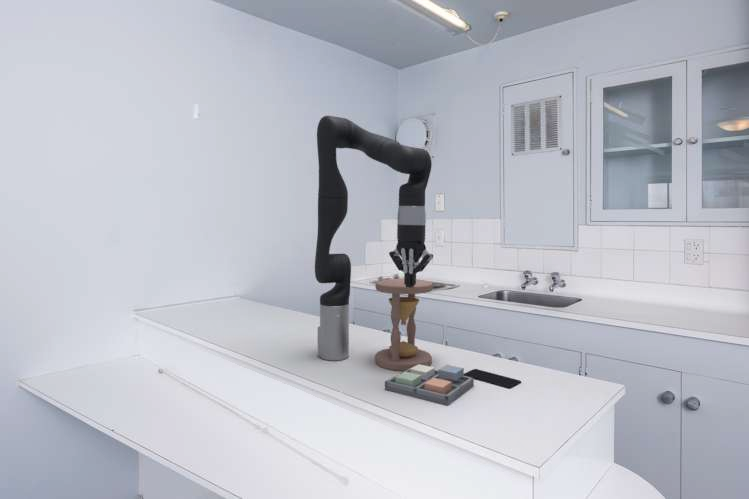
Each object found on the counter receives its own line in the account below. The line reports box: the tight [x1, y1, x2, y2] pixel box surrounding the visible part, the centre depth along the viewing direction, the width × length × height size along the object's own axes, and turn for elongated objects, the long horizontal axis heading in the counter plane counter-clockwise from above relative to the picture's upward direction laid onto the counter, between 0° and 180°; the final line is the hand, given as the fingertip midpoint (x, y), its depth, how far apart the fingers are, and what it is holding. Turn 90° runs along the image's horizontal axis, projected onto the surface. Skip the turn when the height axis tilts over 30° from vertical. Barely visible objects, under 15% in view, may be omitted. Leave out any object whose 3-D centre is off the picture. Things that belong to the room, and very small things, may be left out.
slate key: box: [437, 364, 465, 381], centre depth 125 cm, size 5×5×2 cm
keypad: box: [384, 366, 475, 407], centre depth 124 cm, size 18×16×2 cm
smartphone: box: [464, 368, 522, 390], centre depth 131 cm, size 7×1×15 cm
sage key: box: [395, 371, 422, 387], centre depth 123 cm, size 5×5×2 cm
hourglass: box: [374, 278, 434, 372], centre depth 145 cm, size 18×18×25 cm
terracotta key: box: [425, 378, 451, 394], centre depth 119 cm, size 5×5×2 cm
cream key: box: [410, 364, 436, 379], centre depth 130 cm, size 5×5×2 cm
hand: (410, 287), depth 127 cm, fingers closed
